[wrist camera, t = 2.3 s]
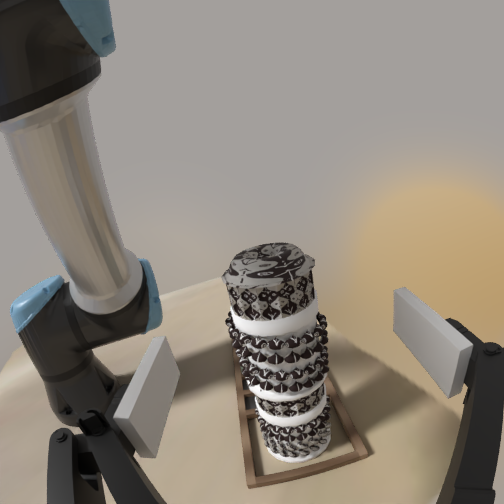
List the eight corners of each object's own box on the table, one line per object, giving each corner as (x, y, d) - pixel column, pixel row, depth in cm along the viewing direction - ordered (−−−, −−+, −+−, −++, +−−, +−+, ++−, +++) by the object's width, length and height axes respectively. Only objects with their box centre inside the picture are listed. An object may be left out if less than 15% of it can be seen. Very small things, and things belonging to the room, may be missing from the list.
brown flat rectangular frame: (367, 457, 26) (367, 453, 25) (248, 488, 25) (247, 485, 25) (300, 326, 58) (299, 322, 58) (232, 342, 58) (231, 338, 57)
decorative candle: (250, 431, 34) (198, 256, 27) (309, 403, 37) (284, 231, 31) (282, 477, 26) (230, 283, 19) (348, 440, 29) (340, 244, 22)
